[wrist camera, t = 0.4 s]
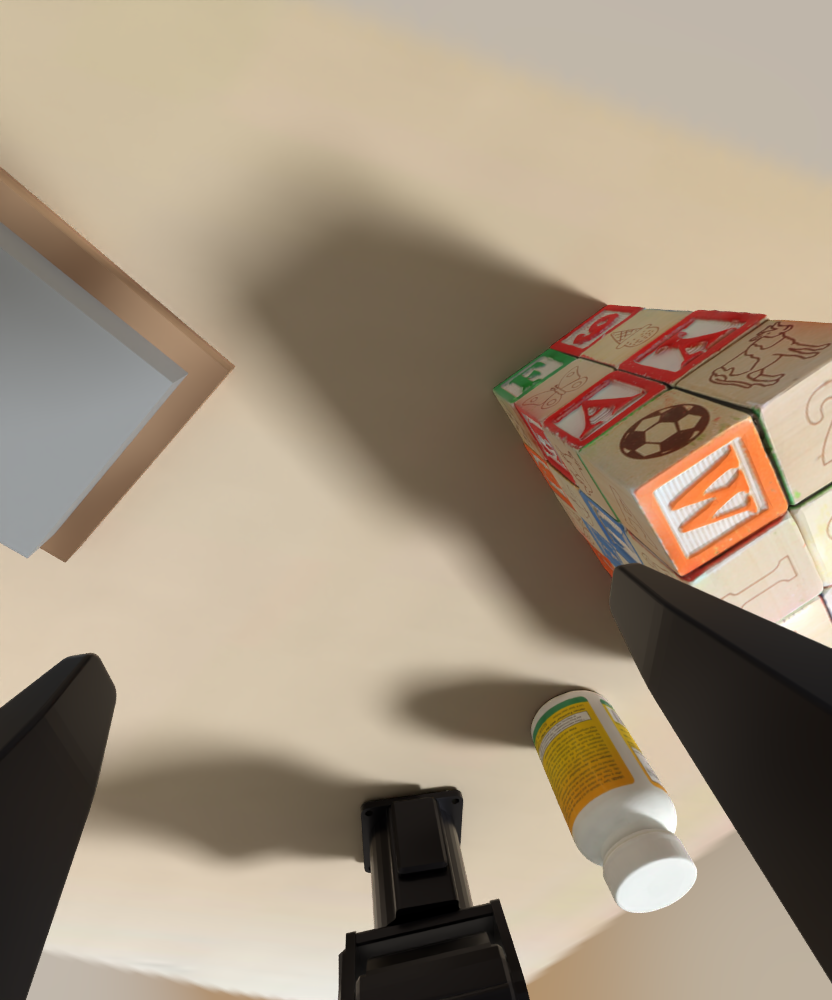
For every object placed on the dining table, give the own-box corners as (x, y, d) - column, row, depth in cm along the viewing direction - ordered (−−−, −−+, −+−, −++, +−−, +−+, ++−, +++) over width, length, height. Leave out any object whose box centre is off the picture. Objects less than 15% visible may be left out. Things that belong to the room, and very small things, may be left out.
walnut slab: (238, 363, 21) (229, 372, 19) (86, 540, 23) (65, 562, 21) (-35, 130, 17) (-80, 112, 15) (-190, 371, 19) (-246, 381, 17)
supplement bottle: (623, 691, 31) (735, 850, 22) (589, 753, 33) (679, 923, 24) (547, 681, 30) (633, 846, 21) (515, 746, 32) (583, 922, 23)
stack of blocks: (754, 610, 30) (999, 802, 19) (663, 666, 31) (848, 882, 20) (605, 300, 22) (895, 320, 10) (485, 387, 22) (635, 494, 11)
